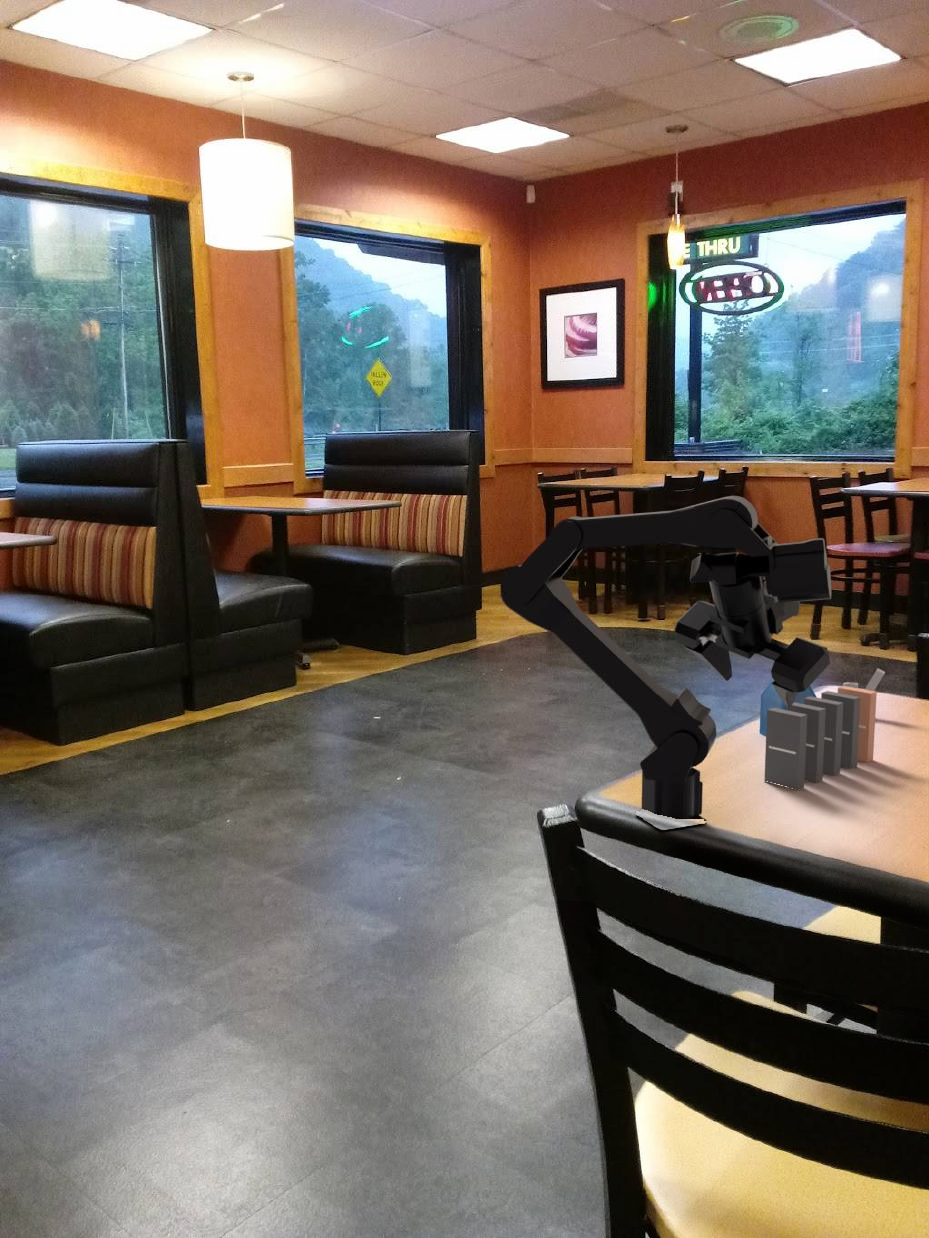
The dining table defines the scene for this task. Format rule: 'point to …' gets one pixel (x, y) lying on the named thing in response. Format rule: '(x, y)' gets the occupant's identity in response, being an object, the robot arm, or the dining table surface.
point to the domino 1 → (785, 748)
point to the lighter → (871, 684)
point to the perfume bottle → (777, 703)
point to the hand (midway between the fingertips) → (758, 691)
